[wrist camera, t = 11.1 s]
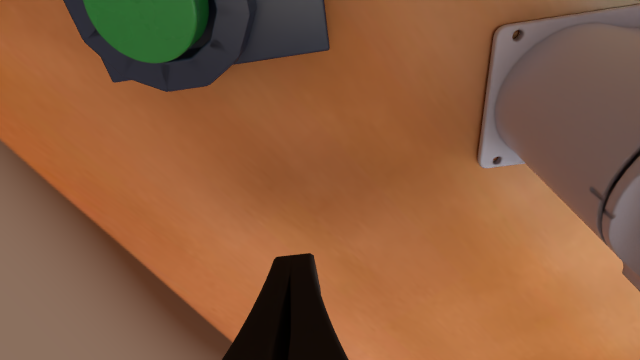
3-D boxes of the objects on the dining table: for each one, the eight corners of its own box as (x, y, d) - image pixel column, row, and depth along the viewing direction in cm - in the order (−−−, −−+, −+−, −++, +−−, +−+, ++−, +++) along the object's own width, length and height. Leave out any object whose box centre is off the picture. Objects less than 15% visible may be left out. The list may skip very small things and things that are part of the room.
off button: (189, -68, 12) (172, -70, 10) (221, 44, 14) (211, 55, 12) (87, -50, 12) (56, -49, 10) (133, 58, 14) (112, 71, 12)
